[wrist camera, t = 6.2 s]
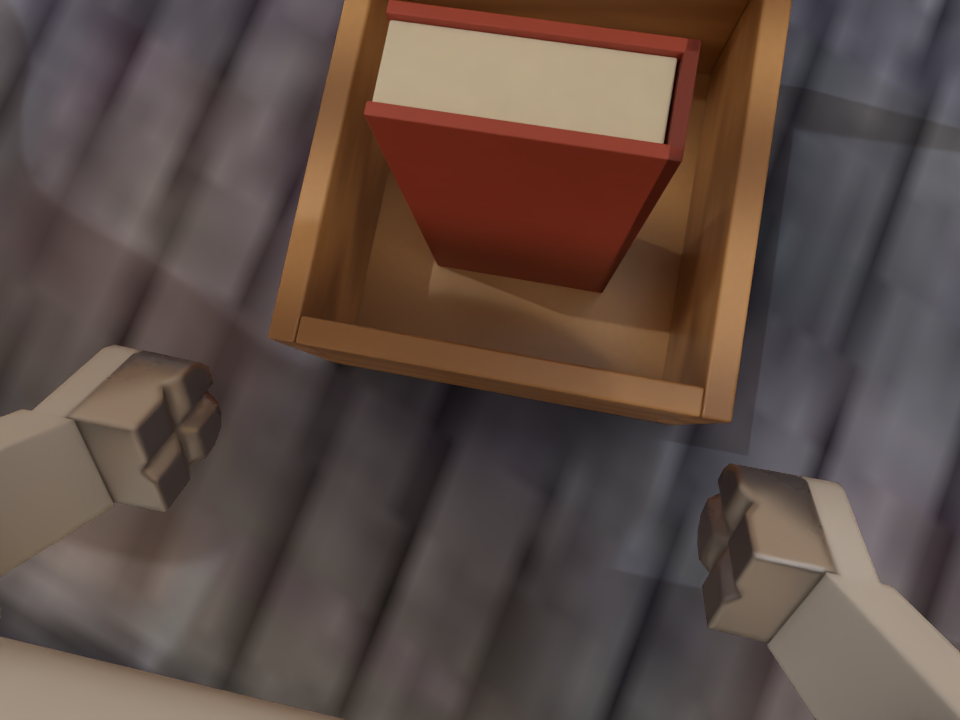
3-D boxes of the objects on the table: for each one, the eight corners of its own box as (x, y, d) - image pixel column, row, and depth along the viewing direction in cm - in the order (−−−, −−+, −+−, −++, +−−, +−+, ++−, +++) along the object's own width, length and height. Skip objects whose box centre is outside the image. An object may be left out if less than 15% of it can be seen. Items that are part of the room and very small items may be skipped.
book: (602, 293, 21) (682, 161, 11) (437, 265, 22) (362, 114, 11) (613, 228, 21) (702, 39, 11) (450, 202, 22) (388, -2, 12)
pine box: (672, 425, 21) (732, 423, 15) (333, 362, 22) (266, 337, 16) (727, 71, 23) (800, -56, 17) (405, 28, 24) (367, -106, 18)
